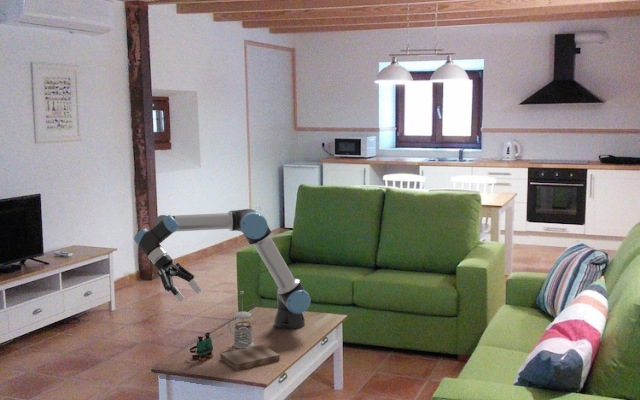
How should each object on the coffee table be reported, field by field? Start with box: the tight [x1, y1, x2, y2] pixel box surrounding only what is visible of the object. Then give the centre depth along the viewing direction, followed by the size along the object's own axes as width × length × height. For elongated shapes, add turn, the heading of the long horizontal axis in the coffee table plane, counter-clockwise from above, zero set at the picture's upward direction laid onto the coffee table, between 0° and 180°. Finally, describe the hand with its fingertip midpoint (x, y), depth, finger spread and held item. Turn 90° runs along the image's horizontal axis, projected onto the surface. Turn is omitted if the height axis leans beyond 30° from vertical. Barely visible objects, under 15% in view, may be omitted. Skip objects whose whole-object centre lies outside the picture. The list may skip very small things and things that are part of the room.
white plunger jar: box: [227, 290, 255, 349], centre depth 311 cm, size 10×12×25 cm
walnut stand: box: [219, 344, 281, 371], centre depth 292 cm, size 20×16×2 cm
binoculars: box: [189, 332, 214, 362], centre depth 296 cm, size 9×11×10 cm
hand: (191, 295), depth 298 cm, fingers open, 13 cm apart
